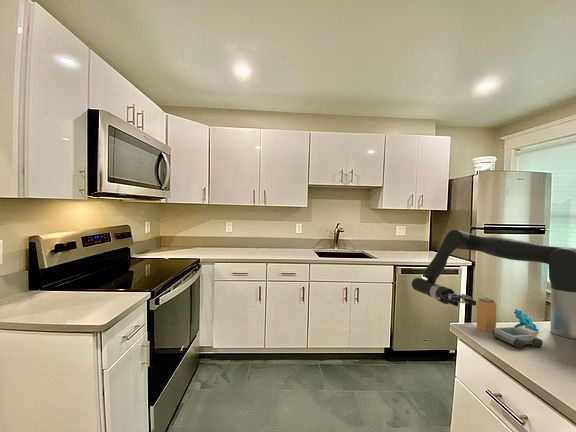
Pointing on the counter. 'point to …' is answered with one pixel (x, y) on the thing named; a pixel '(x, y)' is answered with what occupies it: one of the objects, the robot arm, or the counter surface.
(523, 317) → the gear
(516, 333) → the truck
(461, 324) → the counter surface
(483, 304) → the orange tower grey cap
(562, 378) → the counter surface
